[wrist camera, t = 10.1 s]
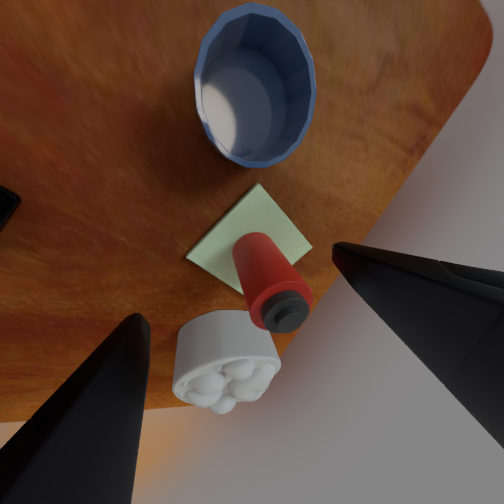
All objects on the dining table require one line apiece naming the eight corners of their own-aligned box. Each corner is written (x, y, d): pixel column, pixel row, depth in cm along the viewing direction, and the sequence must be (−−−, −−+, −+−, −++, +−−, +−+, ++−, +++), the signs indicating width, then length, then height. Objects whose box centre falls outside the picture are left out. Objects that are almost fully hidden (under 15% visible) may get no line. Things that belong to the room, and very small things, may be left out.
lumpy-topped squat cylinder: (249, 353, 33) (263, 412, 26) (173, 356, 28) (163, 428, 21) (270, 312, 29) (294, 367, 22) (184, 306, 24) (177, 375, 17)
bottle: (252, 276, 24) (283, 354, 15) (222, 254, 21) (239, 333, 12) (282, 249, 23) (335, 315, 14) (255, 222, 20) (299, 282, 11)
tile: (250, 296, 26) (251, 300, 26) (186, 253, 21) (186, 257, 20) (309, 244, 24) (312, 247, 24) (256, 181, 19) (258, 183, 18)
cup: (243, 181, 18) (254, 190, 15) (174, 104, 14) (164, 88, 10) (304, 117, 17) (335, 109, 13) (247, 10, 13) (266, -47, 9)
